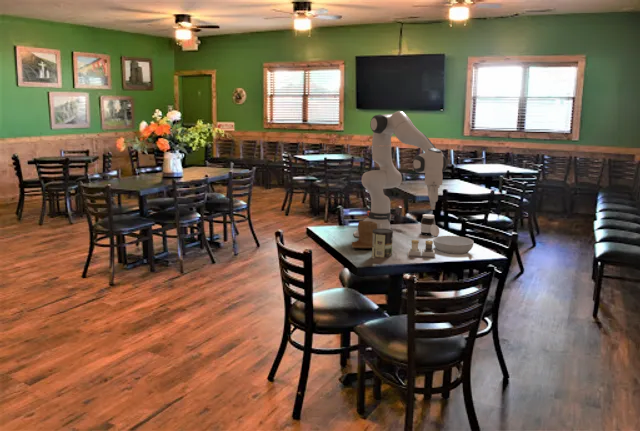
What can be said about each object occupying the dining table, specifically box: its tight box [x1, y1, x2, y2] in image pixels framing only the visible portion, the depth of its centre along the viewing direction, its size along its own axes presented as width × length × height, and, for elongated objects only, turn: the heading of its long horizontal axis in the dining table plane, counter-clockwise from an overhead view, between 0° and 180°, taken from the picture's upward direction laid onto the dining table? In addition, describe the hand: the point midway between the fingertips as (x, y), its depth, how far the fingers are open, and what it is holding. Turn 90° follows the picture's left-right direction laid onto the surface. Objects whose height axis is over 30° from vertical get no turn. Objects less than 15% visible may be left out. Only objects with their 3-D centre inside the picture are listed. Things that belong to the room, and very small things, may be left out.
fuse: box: [411, 239, 420, 251], centre depth 286 cm, size 4×4×8 cm
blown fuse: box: [424, 240, 434, 252], centre depth 285 cm, size 4×4×8 cm
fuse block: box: [407, 247, 437, 260], centre depth 287 cm, size 14×10×4 cm
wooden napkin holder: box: [351, 220, 377, 249], centre depth 304 cm, size 15×12×15 cm
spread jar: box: [420, 213, 440, 237], centre depth 338 cm, size 12×11×12 cm
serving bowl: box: [432, 235, 475, 255], centre depth 299 cm, size 21×21×7 cm
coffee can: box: [371, 228, 394, 259], centre depth 285 cm, size 10×10×14 cm
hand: (432, 208), depth 286 cm, fingers open, 8 cm apart
